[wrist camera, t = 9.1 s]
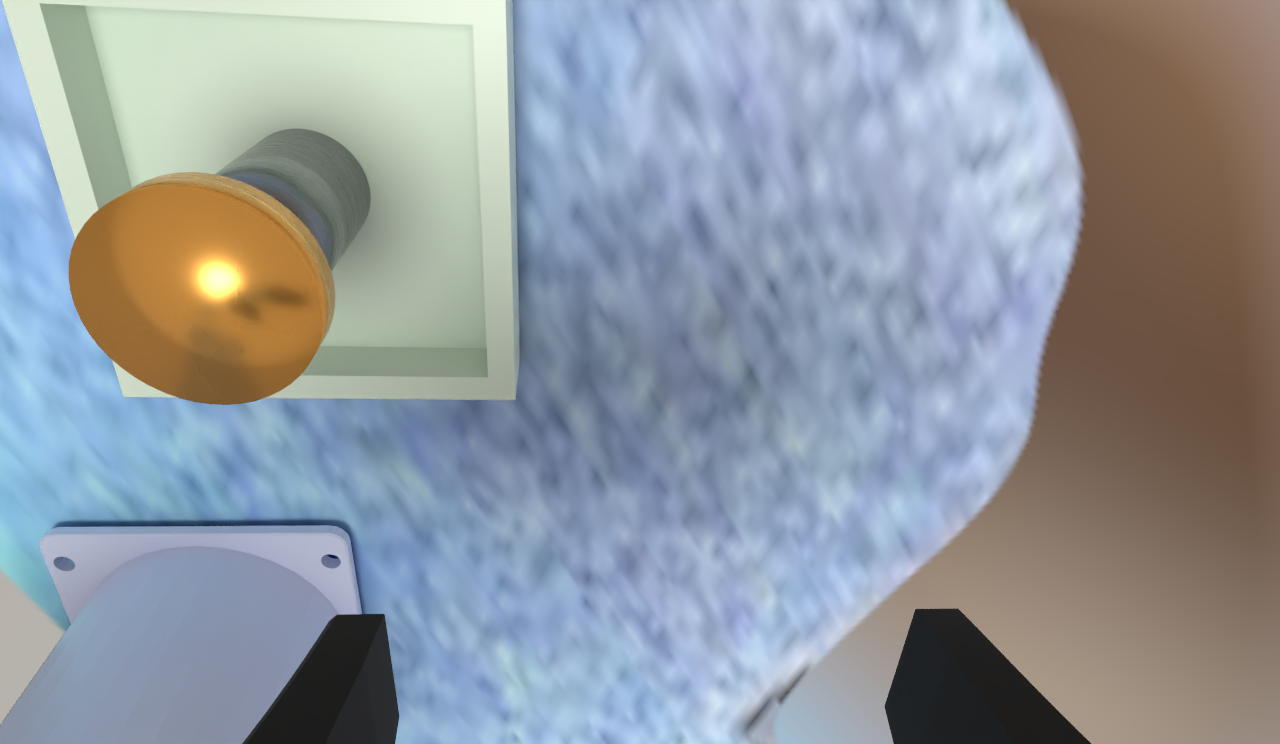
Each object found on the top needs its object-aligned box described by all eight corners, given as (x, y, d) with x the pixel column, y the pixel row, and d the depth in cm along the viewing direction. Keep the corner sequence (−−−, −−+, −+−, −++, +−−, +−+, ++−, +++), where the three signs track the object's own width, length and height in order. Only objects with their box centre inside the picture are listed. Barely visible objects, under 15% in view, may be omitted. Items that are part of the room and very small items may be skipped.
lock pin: (403, 267, 18) (339, 402, 13) (239, 268, 18) (110, 406, 13) (382, 104, 16) (298, 188, 11) (200, 102, 16) (32, 187, 11)
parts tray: (519, 358, 20) (515, 400, 19) (163, 353, 19) (123, 396, 18) (512, -18, 16) (505, -10, 14) (56, -44, 15) (-10, -38, 14)
